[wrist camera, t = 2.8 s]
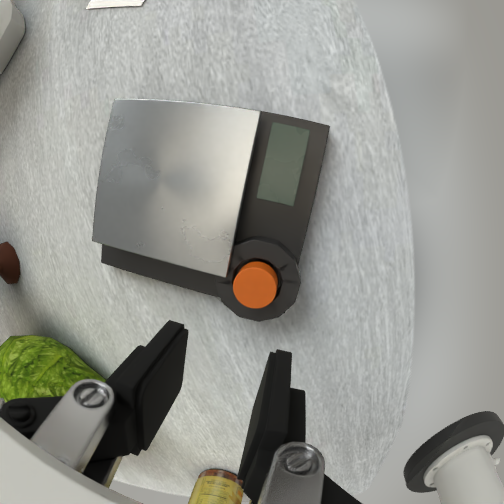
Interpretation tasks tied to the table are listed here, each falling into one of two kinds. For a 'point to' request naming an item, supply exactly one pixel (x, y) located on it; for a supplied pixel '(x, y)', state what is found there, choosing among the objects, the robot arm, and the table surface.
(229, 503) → the sauce bottle
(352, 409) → the table surface
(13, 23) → the bowl
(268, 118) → the scale
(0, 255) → the ice cream bowl
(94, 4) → the coaster
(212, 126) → the scale top
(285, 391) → the robot arm
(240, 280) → the power button
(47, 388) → the lettuce
